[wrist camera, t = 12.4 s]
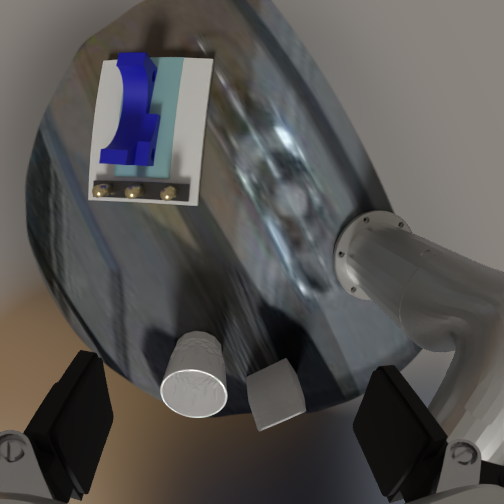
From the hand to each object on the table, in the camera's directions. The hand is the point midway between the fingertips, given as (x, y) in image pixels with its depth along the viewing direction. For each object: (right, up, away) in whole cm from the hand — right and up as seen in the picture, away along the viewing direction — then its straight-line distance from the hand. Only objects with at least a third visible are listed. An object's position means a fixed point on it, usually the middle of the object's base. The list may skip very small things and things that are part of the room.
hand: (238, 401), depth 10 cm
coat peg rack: (-13, +12, +26) cm, 31 cm away
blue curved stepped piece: (-12, +21, +23) cm, 34 cm away
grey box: (+3, -14, +36) cm, 39 cm away
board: (-12, +20, +25) cm, 34 cm away
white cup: (-7, -9, +34) cm, 36 cm away
